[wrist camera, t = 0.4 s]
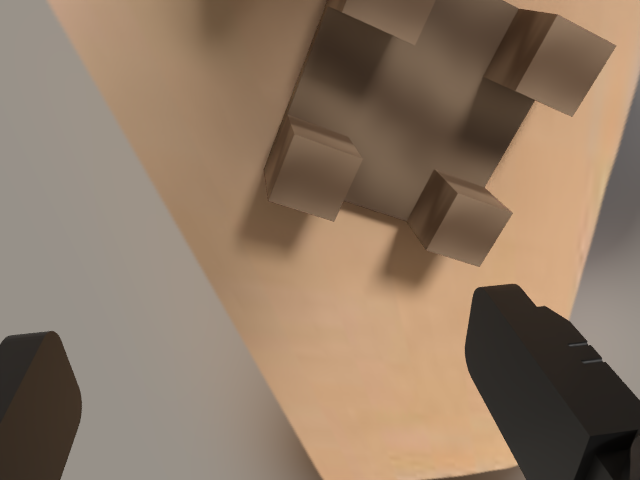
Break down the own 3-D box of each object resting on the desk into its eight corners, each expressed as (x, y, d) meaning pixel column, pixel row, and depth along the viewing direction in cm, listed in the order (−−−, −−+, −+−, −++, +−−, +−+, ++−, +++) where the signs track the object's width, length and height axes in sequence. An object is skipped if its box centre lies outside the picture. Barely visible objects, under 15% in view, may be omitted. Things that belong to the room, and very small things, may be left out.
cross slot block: (355, -74, 29) (378, -81, 25) (563, 34, 34) (616, 45, 29) (263, 169, 36) (268, 201, 31) (450, 231, 41) (479, 266, 36)
